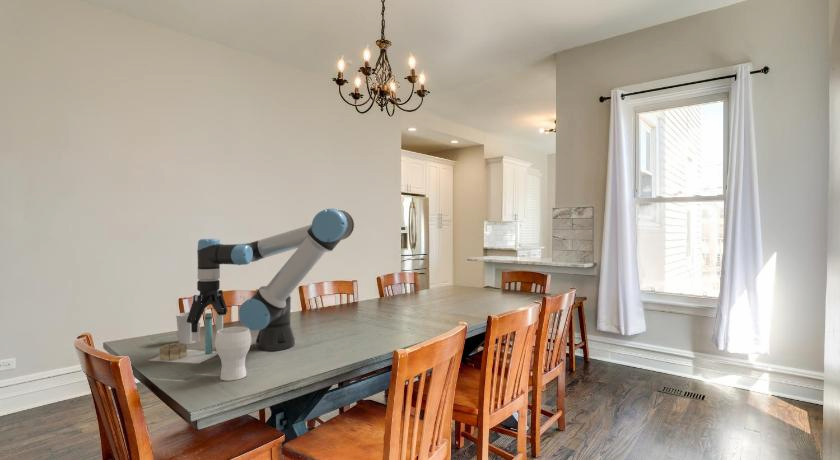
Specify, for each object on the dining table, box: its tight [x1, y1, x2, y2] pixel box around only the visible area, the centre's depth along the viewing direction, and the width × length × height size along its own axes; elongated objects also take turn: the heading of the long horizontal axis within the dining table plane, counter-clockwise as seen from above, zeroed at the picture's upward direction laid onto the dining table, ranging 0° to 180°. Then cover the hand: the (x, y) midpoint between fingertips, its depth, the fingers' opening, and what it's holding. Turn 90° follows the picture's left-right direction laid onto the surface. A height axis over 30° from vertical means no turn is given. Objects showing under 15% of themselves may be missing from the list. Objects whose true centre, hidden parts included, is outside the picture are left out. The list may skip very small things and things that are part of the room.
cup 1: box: [175, 311, 197, 345], centre depth 175 cm, size 8×8×12 cm
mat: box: [148, 349, 219, 364], centre depth 157 cm, size 20×14×1 cm
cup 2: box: [214, 326, 252, 382], centre depth 136 cm, size 11×11×15 cm
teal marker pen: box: [204, 312, 213, 354], centre depth 160 cm, size 2×2×15 cm
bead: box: [159, 342, 188, 361], centre depth 155 cm, size 8×8×4 cm
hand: (208, 336), depth 160 cm, fingers open, 13 cm apart
